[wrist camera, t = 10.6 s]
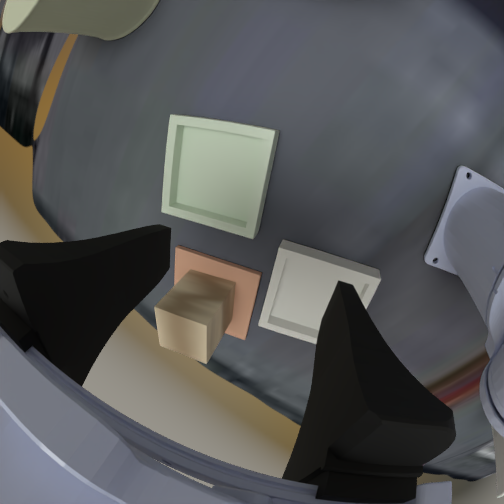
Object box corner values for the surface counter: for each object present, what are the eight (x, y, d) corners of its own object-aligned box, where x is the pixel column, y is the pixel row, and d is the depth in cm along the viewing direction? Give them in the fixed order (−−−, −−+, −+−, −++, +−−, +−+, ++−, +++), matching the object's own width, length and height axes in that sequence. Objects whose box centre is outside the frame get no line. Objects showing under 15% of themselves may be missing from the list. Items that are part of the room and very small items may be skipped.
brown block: (235, 282, 24) (206, 325, 19) (232, 320, 26) (206, 364, 21) (190, 269, 25) (154, 306, 20) (191, 307, 27) (160, 346, 22)
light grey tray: (378, 269, 20) (381, 279, 19) (343, 340, 24) (342, 351, 23) (283, 239, 21) (278, 247, 20) (262, 315, 25) (258, 325, 24)
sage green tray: (279, 130, 18) (275, 130, 17) (258, 231, 22) (252, 239, 21) (180, 114, 19) (170, 114, 18) (171, 206, 23) (161, 212, 22)
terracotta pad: (262, 272, 23) (260, 275, 23) (246, 336, 27) (244, 340, 27) (178, 245, 25) (175, 247, 24) (176, 309, 29) (174, 312, 28)
